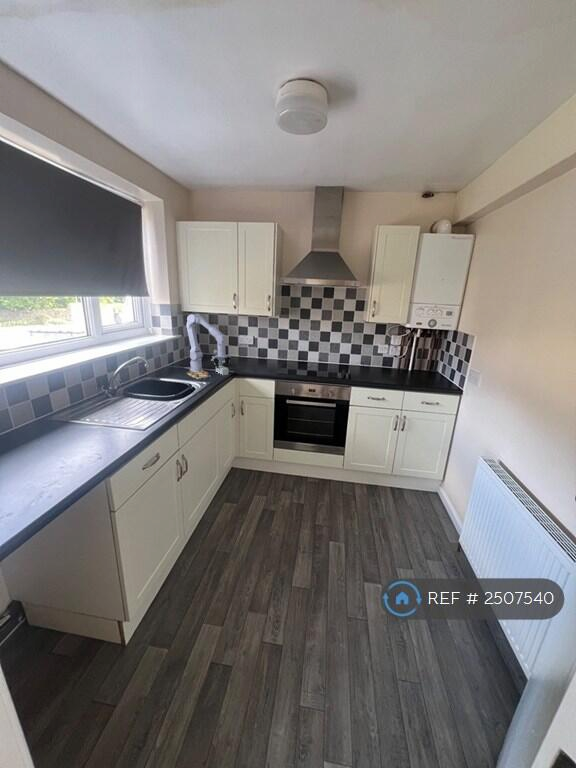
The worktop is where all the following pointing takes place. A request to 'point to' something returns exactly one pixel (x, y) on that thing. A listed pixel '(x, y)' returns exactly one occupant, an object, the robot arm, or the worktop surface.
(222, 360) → the toy figure
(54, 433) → the worktop surface
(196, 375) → the cradle jig
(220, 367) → the block
